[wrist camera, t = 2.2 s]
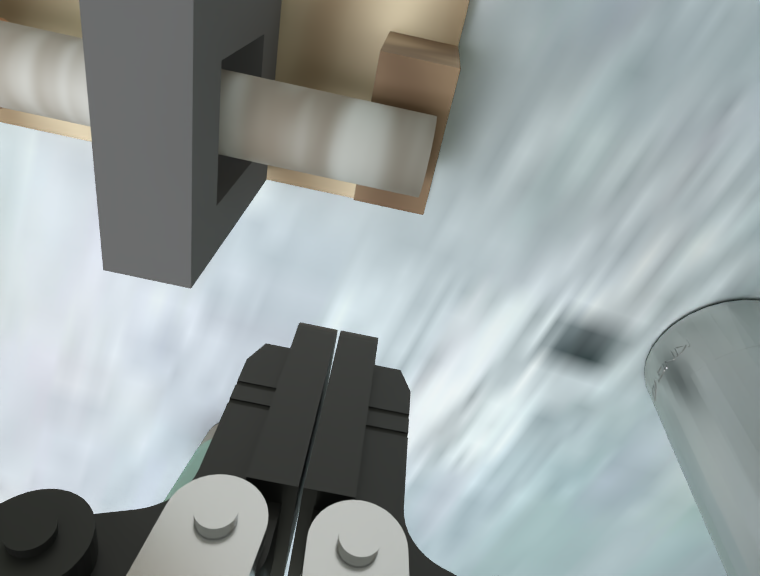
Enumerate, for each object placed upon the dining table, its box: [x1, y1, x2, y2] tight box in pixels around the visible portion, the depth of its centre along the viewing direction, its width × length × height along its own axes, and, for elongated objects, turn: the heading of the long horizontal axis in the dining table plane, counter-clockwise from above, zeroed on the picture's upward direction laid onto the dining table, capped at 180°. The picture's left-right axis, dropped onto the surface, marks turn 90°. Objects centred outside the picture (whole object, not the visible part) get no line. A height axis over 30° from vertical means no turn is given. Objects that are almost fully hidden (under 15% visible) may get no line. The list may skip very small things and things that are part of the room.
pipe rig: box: [0, 0, 470, 215], centre depth 23 cm, size 24×10×9 cm, turn 79°
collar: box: [79, 0, 282, 288], centre depth 21 cm, size 3×9×10 cm, turn 169°
